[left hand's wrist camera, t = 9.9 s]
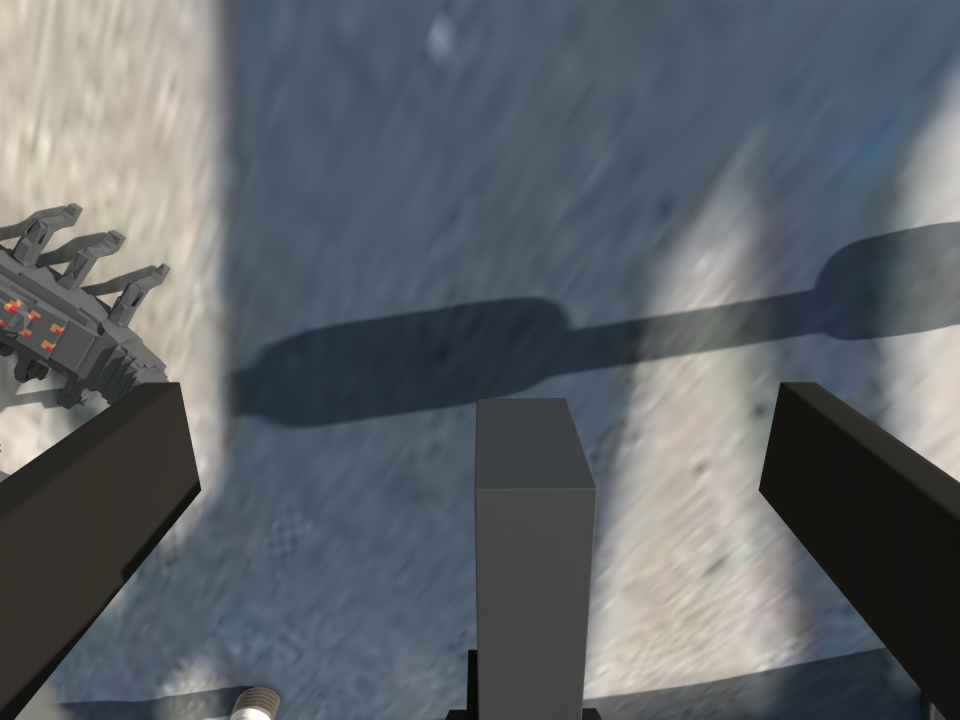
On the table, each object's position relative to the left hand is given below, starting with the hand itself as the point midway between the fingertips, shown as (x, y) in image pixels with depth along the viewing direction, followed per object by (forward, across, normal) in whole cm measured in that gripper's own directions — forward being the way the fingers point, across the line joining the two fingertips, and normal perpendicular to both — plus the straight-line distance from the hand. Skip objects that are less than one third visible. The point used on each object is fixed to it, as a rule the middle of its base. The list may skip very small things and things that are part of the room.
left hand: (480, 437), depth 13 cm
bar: (+15, +2, -16) cm, 23 cm away
